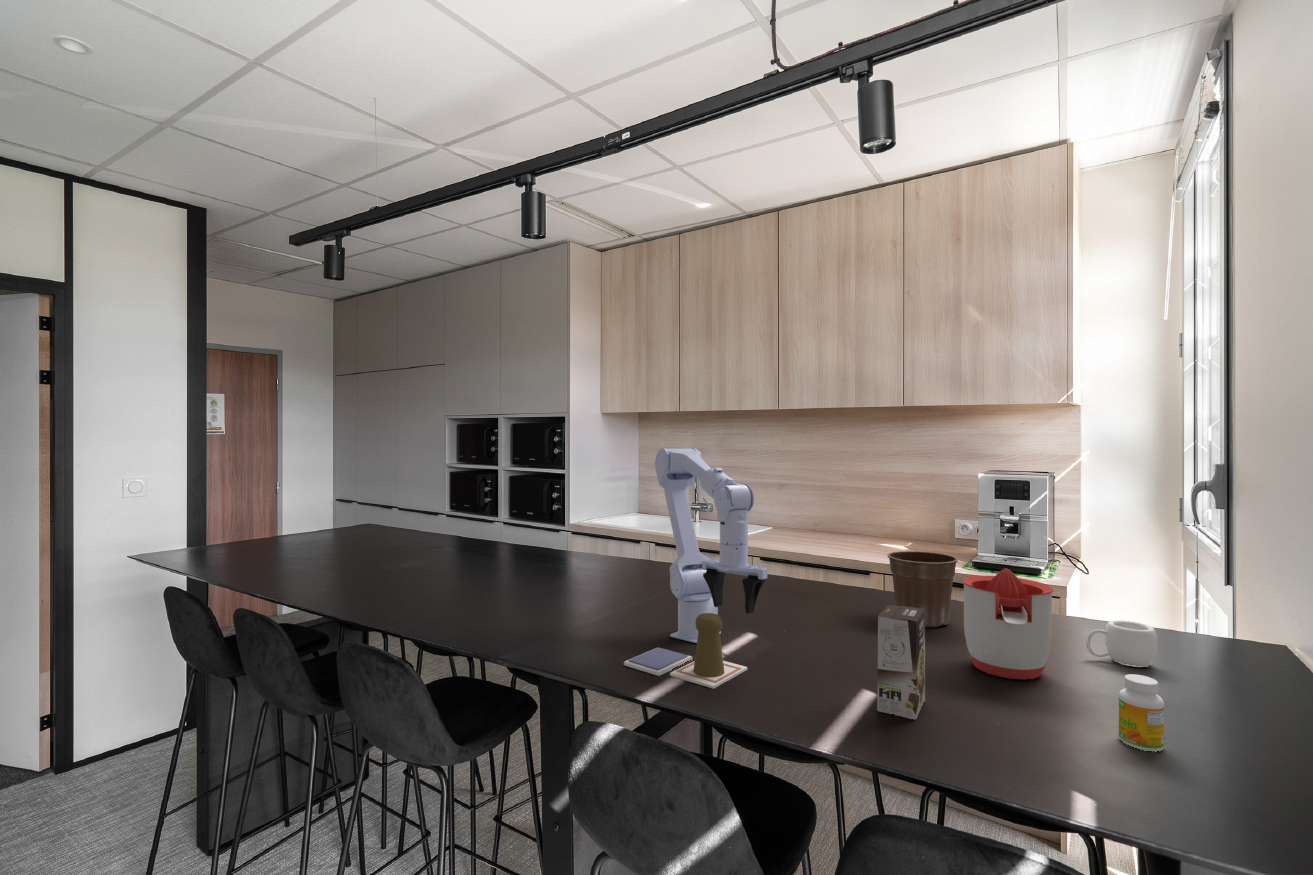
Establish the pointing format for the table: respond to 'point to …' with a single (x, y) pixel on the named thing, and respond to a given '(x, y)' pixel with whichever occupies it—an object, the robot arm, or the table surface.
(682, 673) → the marked board
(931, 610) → the plant pot
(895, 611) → the coffee box
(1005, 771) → the table surface
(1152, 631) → the mug
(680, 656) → the ink pad
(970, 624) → the citrus juicer
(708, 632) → the cork
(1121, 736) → the supplement bottle
